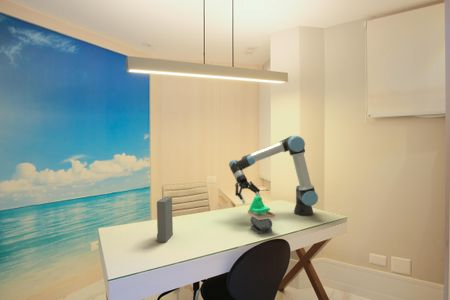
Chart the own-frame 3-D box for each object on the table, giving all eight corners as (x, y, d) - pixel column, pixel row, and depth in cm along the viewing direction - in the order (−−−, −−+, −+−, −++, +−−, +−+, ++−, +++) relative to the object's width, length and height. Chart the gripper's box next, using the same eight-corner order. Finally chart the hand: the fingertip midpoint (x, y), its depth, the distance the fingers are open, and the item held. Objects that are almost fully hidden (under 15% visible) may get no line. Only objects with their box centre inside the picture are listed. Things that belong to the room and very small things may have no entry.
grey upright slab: (163, 234, 180) (163, 196, 179) (173, 234, 179) (172, 196, 178) (156, 242, 166) (155, 201, 165) (166, 242, 165) (165, 201, 164)
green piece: (256, 214, 179) (255, 199, 179) (249, 212, 186) (249, 197, 186) (270, 212, 185) (270, 196, 185) (263, 209, 192) (263, 195, 192)
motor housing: (263, 225, 195) (263, 208, 194) (275, 232, 180) (275, 214, 179) (248, 227, 191) (247, 210, 190) (258, 235, 176) (258, 216, 175)
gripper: (252, 179, 214) (264, 202, 201) (224, 182, 201) (235, 207, 189) (256, 173, 209) (268, 196, 197) (228, 176, 196) (239, 200, 184)
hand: (252, 201), depth 193 cm, fingers open, 13 cm apart
